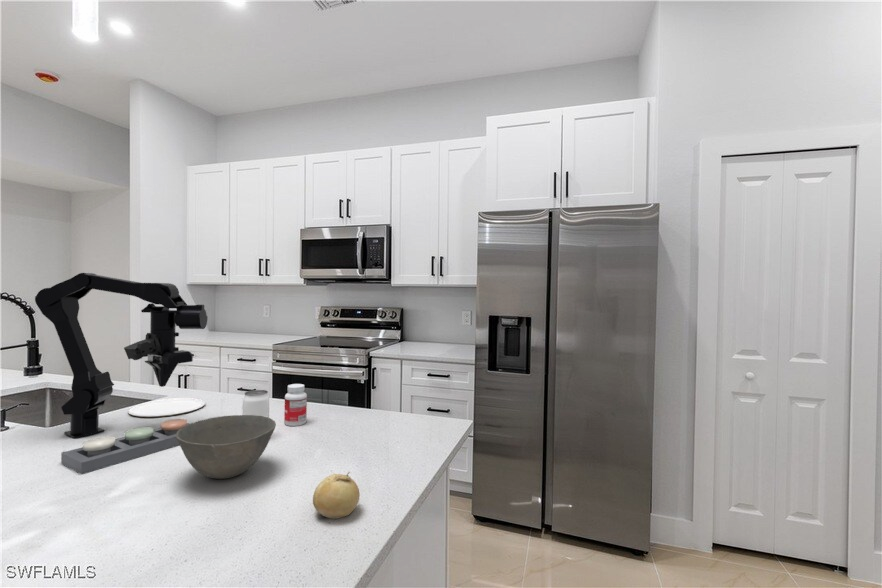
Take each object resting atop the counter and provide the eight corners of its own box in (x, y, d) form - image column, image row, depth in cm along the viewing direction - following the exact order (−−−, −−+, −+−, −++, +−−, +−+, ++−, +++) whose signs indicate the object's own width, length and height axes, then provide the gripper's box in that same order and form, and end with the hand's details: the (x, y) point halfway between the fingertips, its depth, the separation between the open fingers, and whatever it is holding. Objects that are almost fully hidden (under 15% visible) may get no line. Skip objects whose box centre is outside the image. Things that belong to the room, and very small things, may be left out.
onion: (315, 529, 70) (316, 486, 69) (310, 506, 77) (310, 467, 77) (363, 519, 73) (364, 478, 73) (353, 498, 80) (354, 460, 80)
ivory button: (78, 461, 93) (78, 442, 93) (108, 453, 98) (108, 435, 98) (89, 466, 90) (89, 447, 90) (119, 458, 95) (119, 439, 95)
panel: (61, 463, 92) (61, 452, 92) (183, 430, 115) (183, 421, 115) (81, 474, 87) (81, 462, 87) (204, 437, 110) (204, 428, 110)
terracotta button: (156, 439, 107) (156, 423, 107) (179, 433, 112) (179, 417, 112) (168, 444, 104) (168, 427, 104) (191, 437, 109) (191, 421, 109)
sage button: (120, 449, 100) (120, 432, 100) (146, 442, 105) (146, 425, 105) (131, 454, 97) (132, 436, 97) (157, 447, 102) (158, 429, 102)
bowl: (170, 504, 76) (170, 449, 76) (179, 465, 93) (180, 420, 93) (280, 484, 85) (281, 434, 85) (270, 451, 102) (271, 410, 101)
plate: (110, 417, 127) (110, 412, 127) (166, 399, 147) (166, 395, 147) (170, 422, 123) (170, 417, 123) (219, 403, 144) (219, 399, 144)
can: (258, 443, 107) (259, 396, 107) (236, 441, 108) (237, 394, 108) (273, 434, 113) (274, 390, 113) (252, 432, 114) (253, 388, 114)
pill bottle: (286, 420, 126) (287, 383, 126) (307, 419, 127) (308, 383, 127) (282, 426, 120) (282, 388, 120) (304, 426, 121) (305, 387, 120)
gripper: (111, 329, 112) (111, 387, 112) (148, 333, 103) (147, 397, 103) (157, 326, 122) (156, 380, 122) (194, 330, 113) (193, 388, 113)
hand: (162, 386), depth 115 cm, fingers closed
